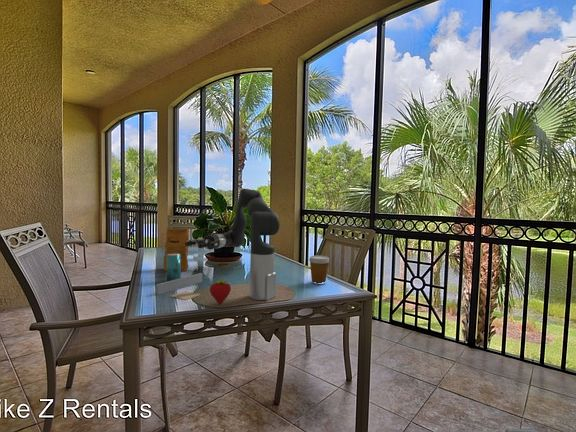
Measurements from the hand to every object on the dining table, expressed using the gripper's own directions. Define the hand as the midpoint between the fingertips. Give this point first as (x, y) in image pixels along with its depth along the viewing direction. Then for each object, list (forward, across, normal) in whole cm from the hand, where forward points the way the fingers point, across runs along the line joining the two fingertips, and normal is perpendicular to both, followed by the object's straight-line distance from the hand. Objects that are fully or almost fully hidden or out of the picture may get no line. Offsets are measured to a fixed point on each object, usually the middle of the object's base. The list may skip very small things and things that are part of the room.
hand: (192, 245), depth 156 cm
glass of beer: (-24, +56, +15) cm, 63 cm away
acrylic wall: (+17, +11, +15) cm, 25 cm away
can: (+11, 0, +15) cm, 19 cm away
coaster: (+24, +21, +15) cm, 36 cm away
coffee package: (-6, -17, +16) cm, 24 cm away
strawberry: (+24, +38, +15) cm, 48 cm away
